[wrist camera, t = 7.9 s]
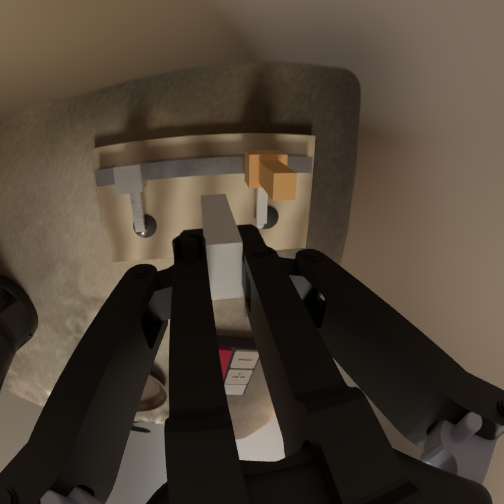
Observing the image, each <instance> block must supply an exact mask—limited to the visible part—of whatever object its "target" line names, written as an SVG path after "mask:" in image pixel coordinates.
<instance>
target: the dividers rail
mask: <svg viewBox="0 0 504 504" xmlns="http://www.w3.org/2000/svg"><path fill="white" fill-rule="evenodd" d="M287 155H288V159H287V167H289V168H290V169H292V170H293V171H295V172H296V173H312V161H313V157H311V156H309V155H305V154H287ZM221 174H245V154H228V155H207V156H191V157H178V158H167V159H157V160H148V161H145V159H143V160H135V161H128V162H121V163H119V164H118V165H111V166H105V167H100V168H98V169H97V170H95V178H96V185H97V187H100V186H106V185H113V184H115V187H116V194H117V195H120V194H128V193H130V200H131V207H132V213H133V220H134V226H135V231H136V232H138V234H139V235H140V236H142V237H143V236H145V235H146V233H147V230H148V226H147V225H146V224H145V218H144V211H143V204H142V196H141V192H143V191H144V189H145V188H146V186H147V185H148V182H147V180H155V179H165V178H176V177H189V176H203V175H221Z"/></svg>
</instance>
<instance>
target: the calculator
mask: <svg viewBox="0 0 504 504" xmlns="http://www.w3.org/2000/svg"><path fill="white" fill-rule="evenodd" d="M217 341H218V348H219V355H220V361H221V367H222V373H223V380H224V385H225V391H226V394H244V392H245V390H246V388H247V386H248V383H249V381H250V379H251V376H252V374H253V372H254V369H255V367H256V365H257V362H258V360H259V354H258V351H257V347H256V344H255V340H254V338H239V337H226V336H217Z"/></svg>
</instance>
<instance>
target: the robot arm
mask: <svg viewBox="0 0 504 504" xmlns="http://www.w3.org/2000/svg"><path fill="white" fill-rule="evenodd" d="M201 210H202V226H203V228H201V229H189V230H183V231H182V232H181V233H180V234H179V236H177V237H176V238H174V239H173V241H172V247H173V254H174V265H173V266H171V267H169V268H167V269H164V270H161V271H158V272H157V269H156V267H155V266H153V265H150V264H139V265H135V266H134V267H132V268H130V269H129V270H128V271H127V272H126V273H125V274H124V276H123V277H122V278H121V280H120V281H119V283H118V284H117V286H116V287H115V288H114V290H113V291H112V293H111V294H110V296H109V297H108V299H107V300H106V302H105V303H104V305H103V306H102V308H101V309H100V311H99V312H98V314H97V315H96V317H95V318H94V320H93V321H92V323H91V324H90V326H89V328H88V329H87V331H86V332H85V334H84V336H83V337H82V339H81V341H80V342H79V344H78V345H77V347H76V349H75V351H74V352H73V354H72V356H71V357H70V359H69V361H68V363H67V364H66V366H65V368H64V370H63V371H62V373H61V375H60V377H59V379H58V381H57V382H56V384H55V386H54V388H53V390H52V392H51V394H50V396H49V398H48V400H47V402H46V404H45V406H44V408H43V410H42V412H41V414H40V416H39V418H38V421H37V423H36V425H35V427H34V429H33V432H32V434H31V436H30V439H29V441H28V443H27V444H26V445H25V446H24V447H23V448H22V449H21V450H20V451H19V453H18V454H17V455H16V456H15V457H14V458H13V459H12V460H11V461H10V463H9V464H8V465H7V466H6V467H5V468H4V469H3V471H2V472H1V473H0V504H105V503H106V501H107V499H108V497H109V495H110V493H111V491H112V489H113V486H114V484H115V481H116V478H117V474H118V471H119V467H120V464H121V460H122V457H123V453H124V450H125V447H126V443H127V440H128V437H129V433H130V430H131V427H132V424H133V421H134V418H135V415H136V412H137V408H138V405H139V402H140V400H141V397H142V394H143V391H144V388H145V385H146V382H147V379H148V376H149V374H150V371H151V368H152V365H153V362H154V360H155V357H156V354H157V352H158V349H159V346H160V344H161V341H162V338H163V336H164V333H165V330H166V328H167V325H168V319H170V340H169V418H167V419H166V421H165V427H164V436H165V456H166V469H167V482H166V483H165V484H163V485H162V486H161V487H160V488H159V489H158V490H157V491H156V492H155V493H154V494H153V495H152V497H151V498H150V499H149V500H148V502H147V503H146V504H492V499H491V496H490V494H489V492H488V490H487V489H486V488H485V487H484V486H483V485H482V484H483V481H484V479H485V476H486V473H487V470H488V467H489V464H490V461H491V458H492V454H493V451H494V447H495V444H496V440H497V439H498V437H500V436H501V435H502V434H503V433H504V390H502V389H500V388H498V387H496V386H494V385H492V384H490V383H488V382H486V381H484V380H482V379H480V378H478V377H476V376H474V375H472V374H470V373H468V372H466V371H465V370H464V369H463V368H462V367H461V366H460V365H459V364H458V363H456V362H455V361H454V360H453V359H452V358H451V357H450V356H449V355H448V354H446V353H445V352H444V351H443V350H442V349H441V348H440V347H438V346H437V345H436V344H435V343H434V342H433V341H431V340H430V339H429V338H428V337H427V336H426V335H424V334H423V333H422V332H421V331H420V330H419V329H418V328H416V327H415V326H414V325H413V324H412V323H410V322H409V321H408V320H407V319H406V318H404V317H403V316H402V315H401V314H400V313H398V312H397V311H396V310H395V309H394V308H392V307H391V306H390V305H389V304H387V303H386V302H385V301H384V300H382V299H381V298H380V297H378V295H376V294H375V293H374V292H372V291H371V290H370V289H369V288H368V287H366V286H365V285H364V284H362V283H361V282H360V281H359V280H357V279H356V278H355V277H354V276H352V275H351V274H350V273H348V272H347V271H346V270H344V269H343V268H342V267H341V266H339V265H338V264H337V263H336V262H334V261H333V260H332V259H330V258H329V257H328V256H326V255H325V254H324V253H322V252H320V251H317V250H314V249H304V250H300V251H298V252H297V253H296V256H295V259H289V258H282V257H279V256H278V254H277V252H276V251H275V250H274V249H273V248H271V247H268V246H267V245H266V244H265V242H264V240H263V238H262V236H261V234H260V232H259V230H258V228H257V227H255V226H254V225H252V224H245V225H236V222H235V220H234V217H233V214H232V211H231V209H230V206H229V203H228V200H227V197H226V195H225V194H215V195H201ZM243 290H244V294H245V317H247V315H248V318H249V322H250V326H251V329H252V333H253V336H254V340H255V344H256V347H257V351H258V354H259V358H260V361H261V365H262V369H263V372H264V376H265V379H266V383H267V386H268V389H269V393H270V396H271V400H272V403H273V407H274V410H275V413H276V417H277V420H278V423H279V427H280V430H281V433H282V437H283V442H284V452H285V458H284V459H282V460H279V461H275V462H266V461H246V460H239V455H238V450H237V446H236V441H235V436H234V431H233V426H232V421H231V416H230V413H229V408H228V403H227V397H226V391H225V385H224V380H223V373H222V367H221V361H220V355H219V348H218V341H217V334H216V327H215V320H214V313H213V305H212V300H219V299H229V298H239V297H243ZM321 294H322V295H323V296H324V298H325V301H324V300H322V299H321V298H320V296H321ZM37 327H38V317H37V313H36V311H35V308H34V306H33V304H32V302H31V301H30V299H29V298H28V297H27V295H26V294H25V293H24V292H23V290H22V289H21V288H20V287H19V286H18V285H16V284H15V283H14V282H13V281H11V280H10V279H8V278H6V277H4V276H2V275H0V390H1V388H2V385H3V382H4V380H5V377H6V375H7V372H8V370H9V367H10V365H11V362H12V360H13V358H14V355H15V353H16V352H17V351H18V350H19V349H20V348H21V347H22V346H23V345H24V344H25V343H26V342H28V341H29V340H30V339H31V338H32V337H33V335H34V333H35V331H36V329H37ZM332 357H333V358H334V359H335V360H336V361H337V363H338V364H339V365H340V366H341V367H342V368H343V370H344V371H345V372H346V373H347V374H348V375H349V376H350V377H351V379H353V381H354V382H355V383H356V384H357V385H358V386H359V388H360V389H361V390H360V389H359V388H357V387H349V386H347V384H346V383H345V381H344V379H343V377H342V375H341V374H340V372H339V370H338V368H337V366H336V364H335V362H334V360H333V358H332ZM362 391H363V392H364V393H365V394H366V395H367V396H368V397H369V399H370V400H371V401H372V402H373V403H374V404H375V405H376V407H377V408H378V409H379V410H380V411H381V412H382V413H383V414H384V416H385V417H386V418H387V419H388V420H389V421H390V422H391V423H392V424H393V425H394V427H395V428H396V429H397V430H398V431H399V432H400V433H401V434H402V435H403V436H404V437H406V438H407V439H408V440H409V441H411V442H412V443H413V444H415V445H416V446H418V447H420V448H421V449H423V450H424V451H423V453H422V454H421V457H420V459H421V461H420V460H417V459H415V458H412V457H411V456H408V455H406V454H404V453H402V452H400V451H398V450H396V449H393V448H392V446H391V444H390V443H389V441H388V439H387V436H386V435H385V433H384V431H383V429H382V427H381V425H380V423H379V421H378V419H377V417H376V415H375V413H374V411H373V409H372V407H371V406H370V404H369V402H368V400H367V398H366V396H365V395H364V393H363V392H362Z"/></svg>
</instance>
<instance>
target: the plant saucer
mask: <svg viewBox="0 0 504 504" xmlns="http://www.w3.org/2000/svg"><path fill="white" fill-rule="evenodd" d="M167 398H168V393H167V390H166V388H165V387H164V385H163V384H162V383H161V381H160V380H159V379H158V378H157V377H156V376H155V375H154V374H152V373H151V372H150V374H149V376H148V379H147V382H146V385H145V388H144V391H143V394H142V397H141V400H140V402H139V405H138V408H137V412H144V411H151V410H155V409H157V408H159V407H161V406H163V405H164V404H165V403H166V401H167Z"/></svg>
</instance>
